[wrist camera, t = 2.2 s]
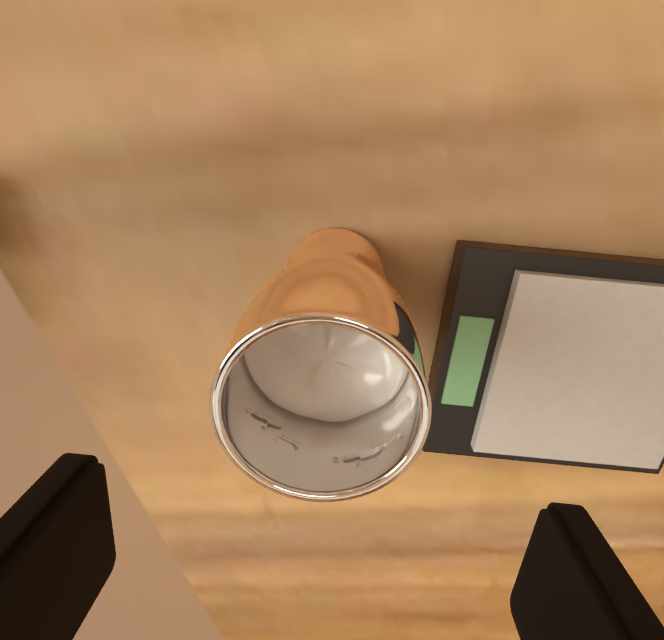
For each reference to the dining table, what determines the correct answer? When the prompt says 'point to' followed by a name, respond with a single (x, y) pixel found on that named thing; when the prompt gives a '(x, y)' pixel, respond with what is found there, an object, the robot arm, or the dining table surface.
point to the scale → (550, 358)
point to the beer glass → (323, 377)
